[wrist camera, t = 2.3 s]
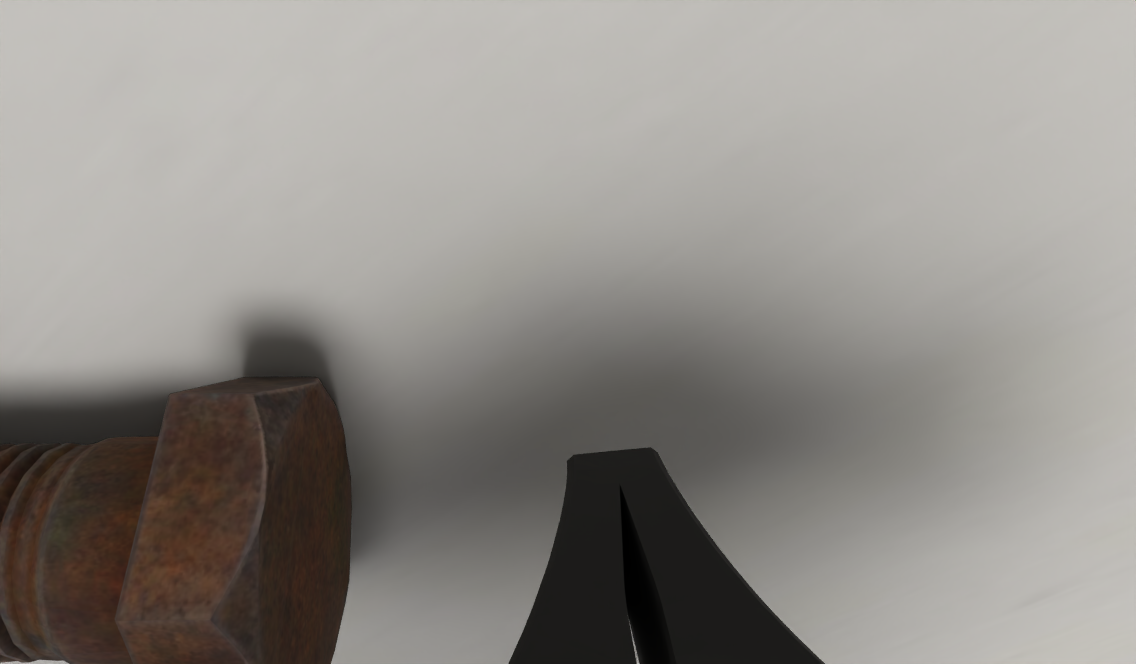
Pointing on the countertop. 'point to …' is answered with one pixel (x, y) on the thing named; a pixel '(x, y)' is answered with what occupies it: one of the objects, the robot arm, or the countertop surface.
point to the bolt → (183, 535)
